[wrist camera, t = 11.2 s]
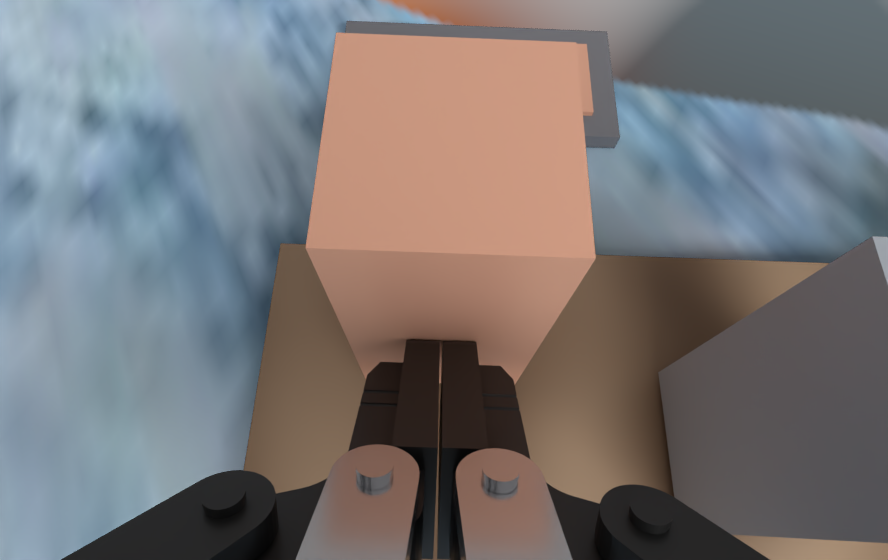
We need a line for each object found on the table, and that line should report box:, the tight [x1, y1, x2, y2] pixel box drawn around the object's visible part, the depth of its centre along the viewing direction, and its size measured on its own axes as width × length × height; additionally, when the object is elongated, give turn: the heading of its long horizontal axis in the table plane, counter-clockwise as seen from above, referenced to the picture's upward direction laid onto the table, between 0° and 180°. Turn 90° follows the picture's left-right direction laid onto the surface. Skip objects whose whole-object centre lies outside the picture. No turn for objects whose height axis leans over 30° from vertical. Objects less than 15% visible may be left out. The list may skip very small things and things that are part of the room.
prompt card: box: [345, 21, 620, 148], centre depth 20 cm, size 10×5×1 cm, turn 88°
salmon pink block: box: [306, 33, 596, 385], centre depth 12 cm, size 4×4×8 cm
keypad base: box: [244, 243, 888, 560], centre depth 15 cm, size 23×11×1 cm, turn 88°
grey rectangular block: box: [658, 236, 888, 543], centre depth 11 cm, size 4×4×8 cm
